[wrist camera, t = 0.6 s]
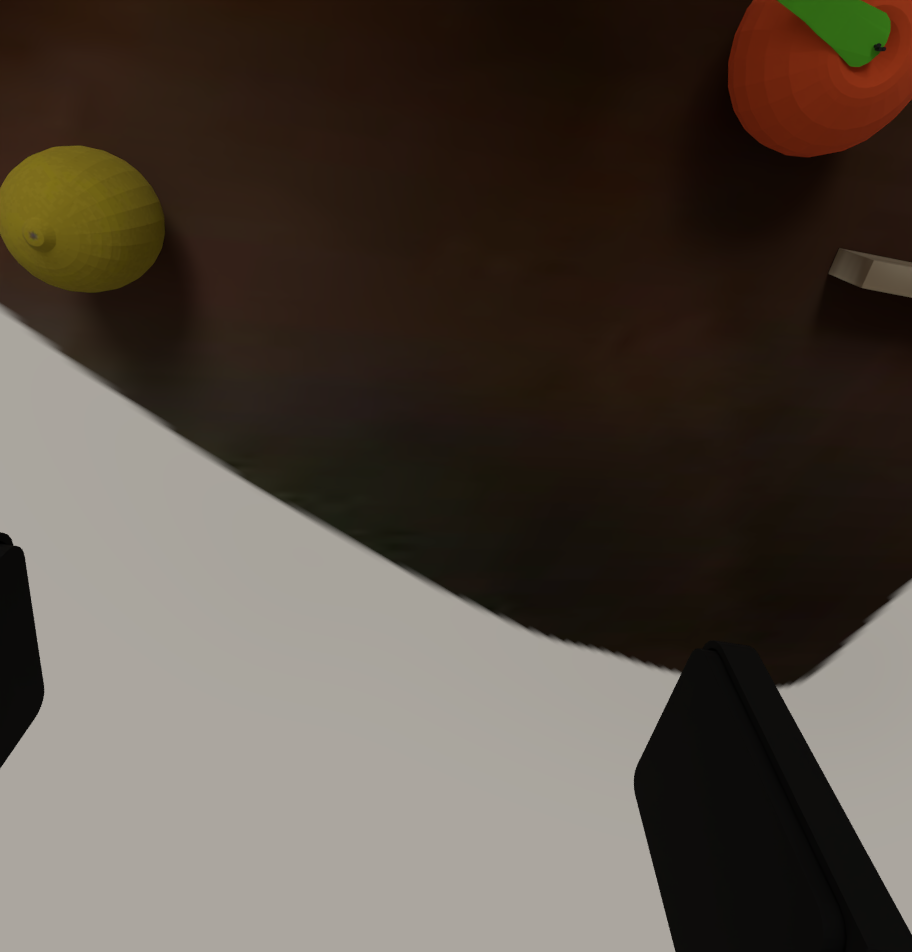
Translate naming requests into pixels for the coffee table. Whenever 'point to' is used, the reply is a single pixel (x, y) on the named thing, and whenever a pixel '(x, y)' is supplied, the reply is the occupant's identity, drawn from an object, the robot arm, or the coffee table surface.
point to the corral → (873, 272)
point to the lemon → (81, 219)
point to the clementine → (820, 72)
